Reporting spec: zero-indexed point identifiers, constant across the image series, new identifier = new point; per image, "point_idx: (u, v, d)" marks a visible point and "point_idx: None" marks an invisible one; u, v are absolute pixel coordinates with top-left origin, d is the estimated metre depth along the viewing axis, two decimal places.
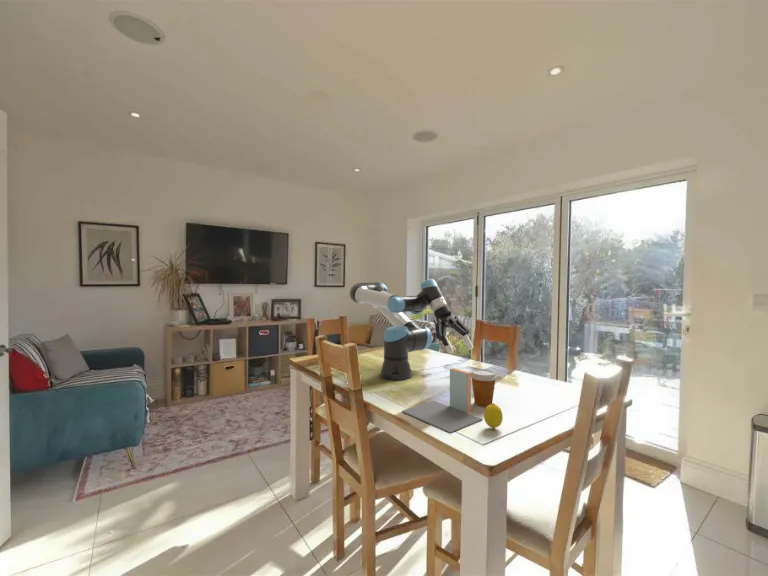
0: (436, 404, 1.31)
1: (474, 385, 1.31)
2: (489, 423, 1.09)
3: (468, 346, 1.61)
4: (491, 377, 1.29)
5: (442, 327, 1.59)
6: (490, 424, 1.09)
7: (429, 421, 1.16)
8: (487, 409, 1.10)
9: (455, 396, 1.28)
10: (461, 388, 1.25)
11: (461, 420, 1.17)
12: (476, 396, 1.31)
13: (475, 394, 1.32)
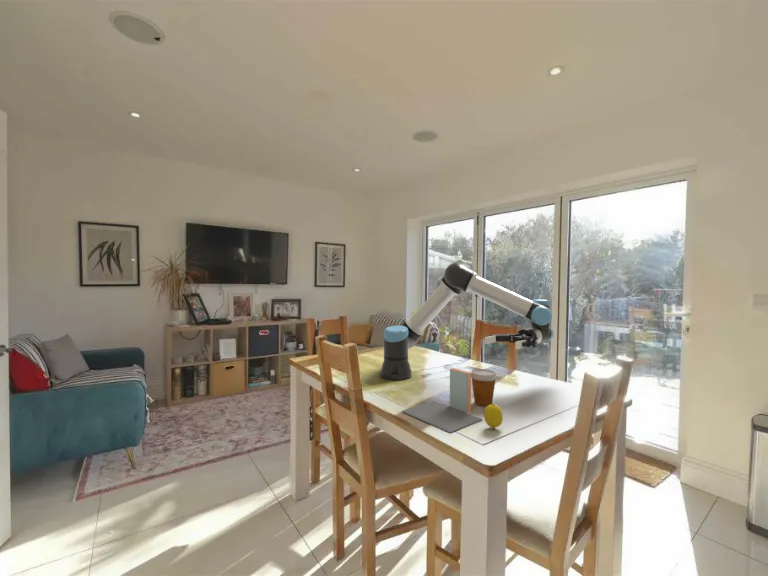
0: (436, 404, 1.31)
1: (474, 385, 1.31)
2: (489, 423, 1.09)
3: (488, 339, 1.45)
4: (491, 377, 1.29)
5: None
6: (490, 424, 1.09)
7: (429, 421, 1.16)
8: (487, 409, 1.10)
9: (455, 396, 1.28)
10: (461, 388, 1.25)
11: (461, 420, 1.17)
12: (476, 396, 1.31)
13: (475, 394, 1.32)
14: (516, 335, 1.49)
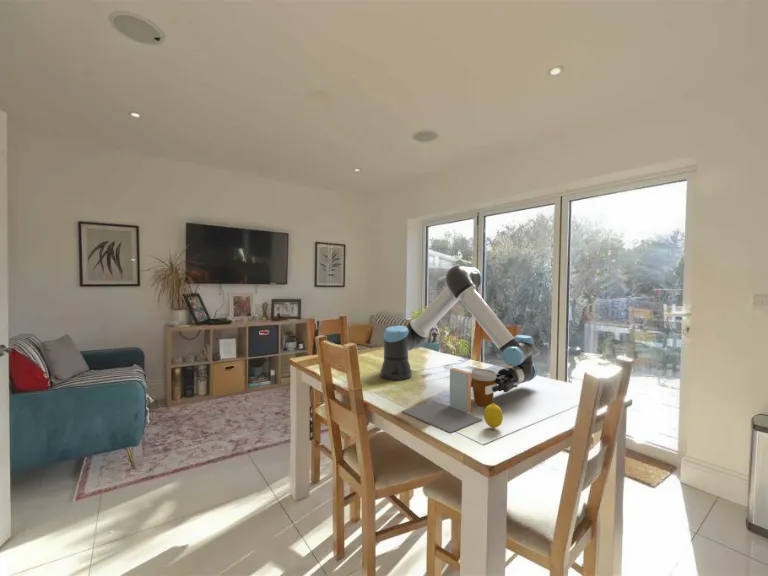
0: (436, 404, 1.31)
1: (474, 385, 1.31)
2: (489, 423, 1.09)
3: None
4: (491, 377, 1.29)
5: (504, 382, 1.35)
6: (490, 424, 1.09)
7: (429, 421, 1.16)
8: (487, 409, 1.10)
9: (455, 396, 1.28)
10: (461, 388, 1.25)
11: (461, 420, 1.17)
12: (476, 396, 1.31)
13: (475, 394, 1.32)
14: (497, 376, 1.40)
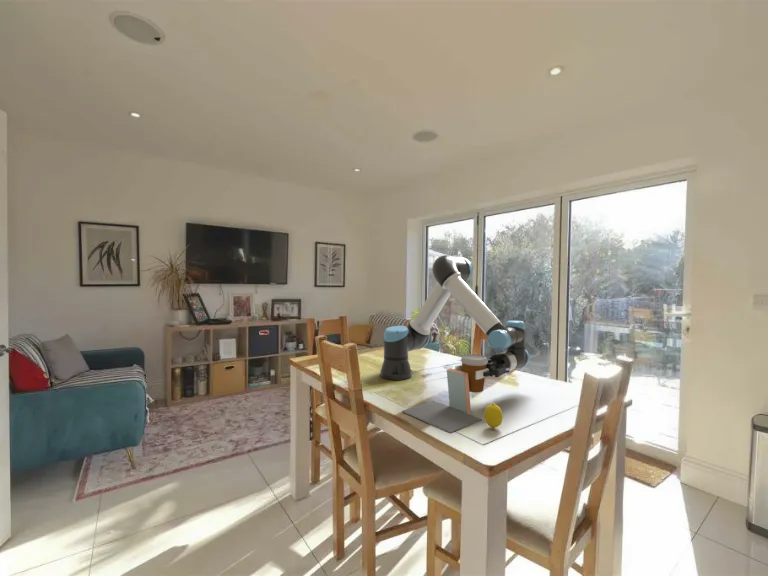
0: (436, 404, 1.31)
1: (464, 370, 1.27)
2: (489, 423, 1.09)
3: (459, 368, 1.29)
4: (482, 361, 1.24)
5: (495, 367, 1.30)
6: (490, 424, 1.09)
7: (429, 421, 1.16)
8: (487, 409, 1.10)
9: (454, 396, 1.27)
10: (459, 389, 1.25)
11: (461, 420, 1.17)
12: None
13: None
14: (488, 361, 1.35)
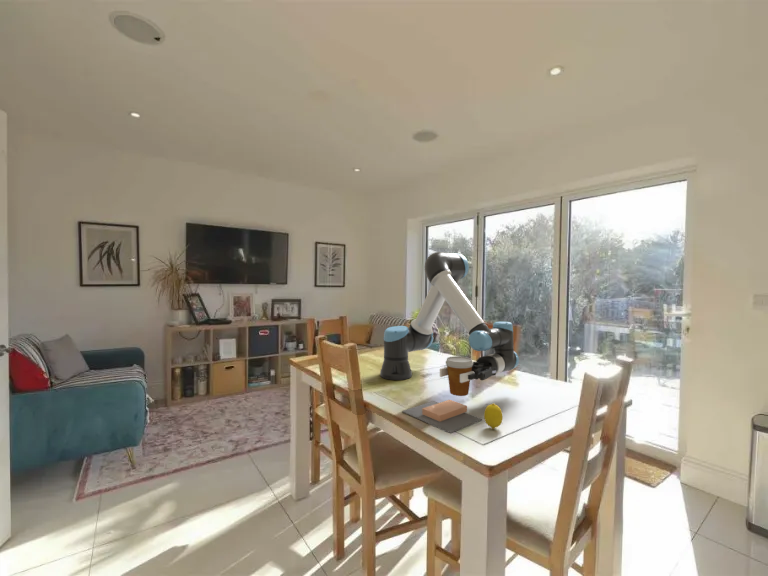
0: None
1: (449, 373, 1.22)
2: (489, 423, 1.09)
3: (443, 370, 1.25)
4: (467, 364, 1.20)
5: (481, 370, 1.26)
6: (490, 424, 1.09)
7: (429, 421, 1.16)
8: (487, 409, 1.10)
9: None
10: None
11: (461, 420, 1.17)
12: (451, 385, 1.22)
13: (450, 382, 1.23)
14: (475, 364, 1.31)
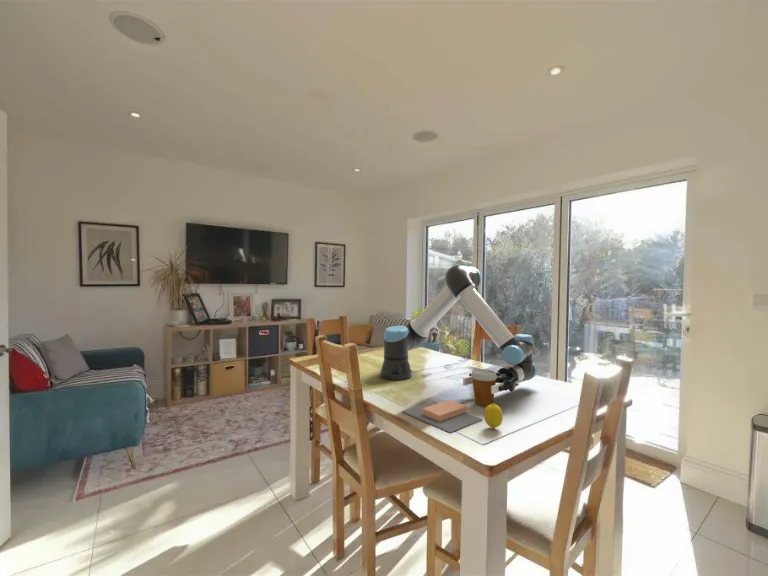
0: None
1: (475, 385, 1.31)
2: (489, 423, 1.09)
3: (466, 380, 1.36)
4: (492, 377, 1.28)
5: None
6: (490, 424, 1.09)
7: (429, 421, 1.16)
8: (487, 409, 1.10)
9: None
10: None
11: (461, 420, 1.17)
12: (477, 396, 1.31)
13: (475, 394, 1.32)
14: (496, 374, 1.40)
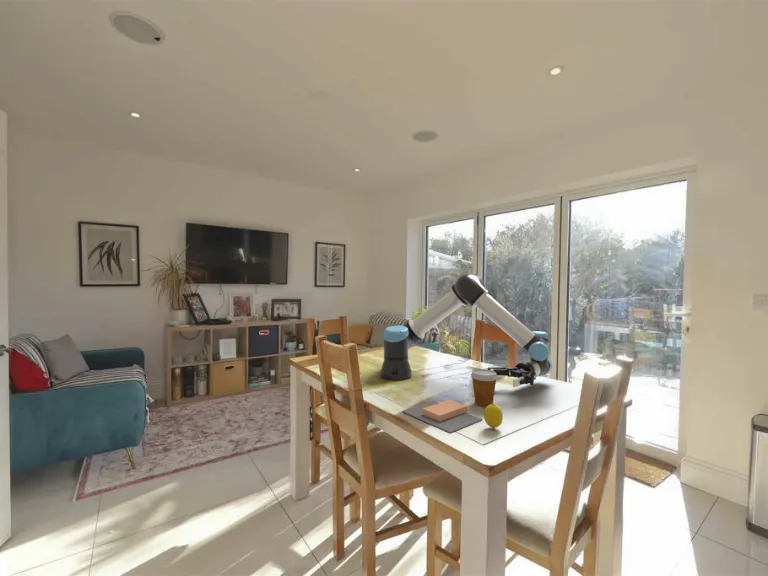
0: None
1: (475, 385, 1.31)
2: (489, 423, 1.09)
3: None
4: (492, 377, 1.28)
5: None
6: (490, 424, 1.09)
7: (429, 421, 1.16)
8: (487, 409, 1.10)
9: None
10: None
11: (461, 420, 1.17)
12: (477, 396, 1.31)
13: (475, 394, 1.32)
14: (514, 369, 1.48)
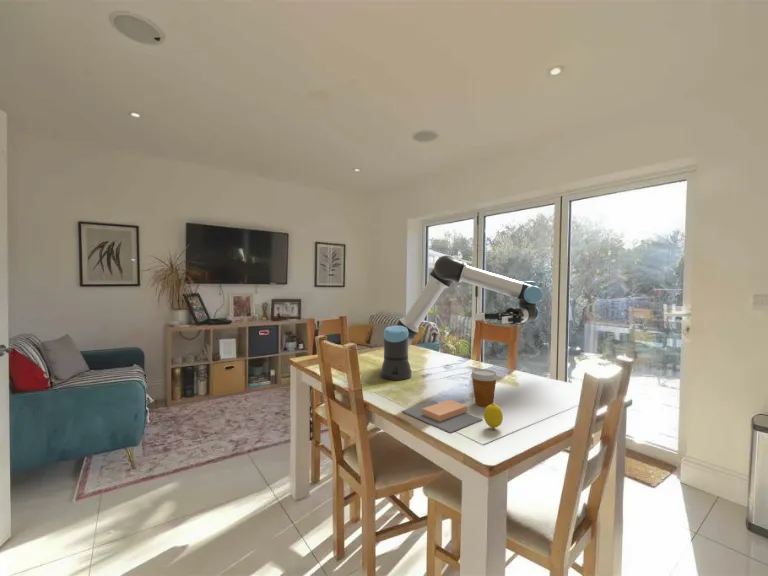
0: None
1: (475, 385, 1.31)
2: (489, 423, 1.09)
3: (477, 315, 1.55)
4: (492, 377, 1.28)
5: None
6: (490, 424, 1.09)
7: (429, 421, 1.16)
8: (487, 409, 1.10)
9: None
10: None
11: (461, 420, 1.17)
12: (477, 396, 1.31)
13: (475, 394, 1.31)
14: (504, 313, 1.59)
